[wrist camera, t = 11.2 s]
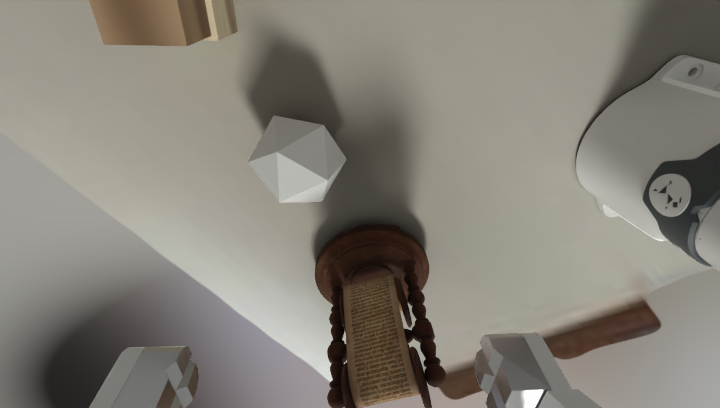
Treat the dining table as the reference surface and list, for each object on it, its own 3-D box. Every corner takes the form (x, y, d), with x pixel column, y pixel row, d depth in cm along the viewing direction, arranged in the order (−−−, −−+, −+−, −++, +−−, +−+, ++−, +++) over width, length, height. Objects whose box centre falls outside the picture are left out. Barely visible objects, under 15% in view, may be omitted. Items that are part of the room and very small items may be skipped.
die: (262, 97, 35) (217, 175, 31) (333, 89, 31) (292, 179, 27) (303, 148, 41) (270, 219, 37) (367, 148, 37) (337, 227, 33)
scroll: (411, 203, 42) (460, 350, 25) (434, 285, 50) (483, 438, 33) (298, 236, 44) (273, 394, 27) (337, 310, 52) (337, 468, 35)
